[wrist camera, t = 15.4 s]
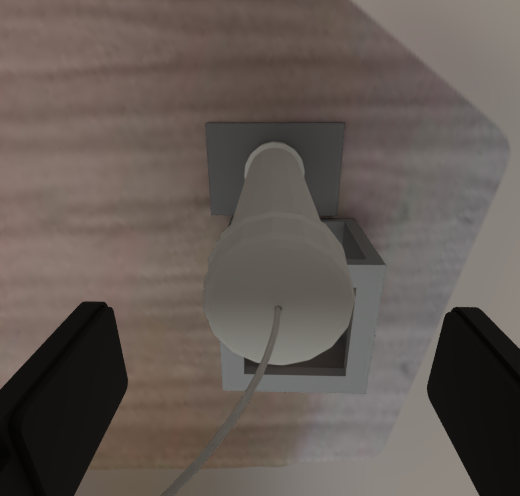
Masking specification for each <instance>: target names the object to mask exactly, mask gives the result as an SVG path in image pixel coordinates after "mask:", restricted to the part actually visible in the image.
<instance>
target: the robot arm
mask: <svg viewBox="0 0 520 496" xmlns="http://www.w3.org/2000/svg"><path fill="white" fill-rule="evenodd" d="M127 385H128V378H127V373H126V368H125V363H124V359H123V354H122V349H121V344H120V339H119V334H118V330H117V325H116V320H115V315H114V311H113V309H112V308H111V307H108V306H107V304H106V303H105V302H82V303H81V304H80V305H79V306H78V307H77V308H76V309H75V310H74V311H73V312H72V313H71V314H70V315H69V316H68V318H67V319H66V320H65V321H64V322H63V323H62V324H61V325H60V326H59V327H58V328H57V329H56V330H55V331H54V333H53V334H52V335H51V336H50V337H49V338H48V339H47V340H46V341H45V342H44V343H43V344H42V345H41V346H40V348H39V349H38V350H37V351H36V352H35V353H34V354H33V355H32V356H31V357H30V358H29V359H28V360H27V361H26V363H25V364H24V365H23V366H22V367H21V368H20V369H19V370H18V371H17V372H16V373H15V374H14V375H13V376H12V378H11V379H10V380H9V381H8V382H7V383H6V384H5V385H4V386H3V387H2V388H1V389H0V496H74V494H75V492H76V491H77V489H78V486H79V485H80V483H81V480H82V478H83V476H84V474H85V473H86V471H87V469H88V467H89V465H90V462H91V460H92V458H93V456H94V454H95V452H96V450H97V448H98V446H99V444H100V442H101V440H102V438H103V436H104V434H105V432H106V430H107V428H108V426H109V424H110V422H111V420H112V418H113V416H114V414H115V412H116V410H117V408H118V406H119V404H120V402H121V400H122V398H123V396H124V394H125V392H126V390H127ZM427 392H428V397H429V399H430V401H431V403H432V405H433V407H434V409H435V411H436V413H437V415H438V417H439V419H440V421H441V423H442V425H443V426H444V428H445V430H446V432H447V434H448V436H449V438H450V440H451V442H452V444H453V445H454V447H455V449H456V451H457V453H458V455H459V457H460V459H461V461H462V463H463V465H464V467H465V469H466V471H467V472H468V475H469V476H470V478H471V480H472V482H473V484H474V486H475V488H476V490H477V492H478V493H479V495H480V496H520V349H519V348H518V347H517V346H516V345H515V344H514V343H513V342H512V341H511V340H510V339H509V338H508V337H507V336H506V335H505V334H504V333H503V332H502V331H501V330H500V329H499V328H498V327H497V326H496V325H495V323H494V322H492V320H491V319H490V318H489V317H488V316H487V315H486V314H485V313H484V312H483V311H482V310H480V309H479V308H476V307H455V308H453V309H452V310H451V312H448V313H446V315H445V317H444V321H443V325H442V329H441V333H440V337H439V341H438V345H437V349H436V353H435V357H434V361H433V365H432V369H431V373H430V376H429V381H428V385H427Z"/></svg>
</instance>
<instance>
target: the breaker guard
mask: <svg viewBox="0 0 520 496" xmlns="http://www.w3.org/2000/svg"><path fill="white" fill-rule="evenodd" d="M232 220H233V218H231V220H230V223H229V225H228V227H229V226H230V225H231V223H232ZM320 221H321V222H323V223H325V224H326V225H327V227H328V228H329V229H330V230H331V232H332V233H333V234H334V236H335V237H336V238H337V240H338V241H339V242H340V243H341V245H342V247H343V249H344V252H345V257H346V262H347V266H348V270H349V272H350V276H351V281H352V285H353V290H354V295H355V302H354V306H353V310H352V314H351V318H350V322H349V325H348V327H347V329H346V330H345V331H344V332H343V334H342V335H341V336H340V337H339V339H338V340H337V341H336V342H335V344H334V345H333V346H332V347H331V348H329V349H327V350H326V351H324V352H322V353H320V354H319V355H317V356H315V357H314V358H312V359H310V360H307V361H302V362H297V363H292V364H287V365H274V364H268V365H267V367H266V369H265V372H264V374H263V376H262V378H261V380H260V382H259V384H258V386H257V388H256V390H255V391H269V392H311V393H352V394H366V389H367V383H368V376H369V370H370V364H371V357H372V351H373V345H374V338H375V332H376V326H377V320H378V313H379V307H380V301H381V294H382V288H383V282H384V275H385V269H386V264H385V263H384V261H383V260H382V258H381V257H380V256H379V254H378V253H377V251H376V250H375V248H374V247H373V245H372V244H371V242H370V241H369V239H368V238H367V236H366V235H365V234H364V232H363V231H362V229H361V228H360V226H359V225H358V223H357V222H356V220H355V219H320ZM220 349H221V365H222V382H223V390H228V391H246V389H247V388H248V386H249V384H250V382H251V380H252V379H253V377H254V375H255V373H256V371H257V369H258V366H259V364H260V363H256V362H254V361H251V360H249V359H247V358H245V357H242V356H240V355H238V354H236V353H234V352H232V351H231V350H230V349H229V348H228V347H227V346H226V345H224V344H223V343H222V342H221V341H220Z"/></svg>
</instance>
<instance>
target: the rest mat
mask: <svg viewBox="0 0 520 496" xmlns="http://www.w3.org/2000/svg"><path fill="white" fill-rule="evenodd" d="M205 125H206V140H207V156H208V172H209V188H210V204H211V215H234V214H235V210H236V207H237V204H238V201H239V198H240V195H241V192H242V189H243V186H244V182H245V177H244V175H245V164H246V162H247V160H248V158H249V157H250V155H251V153H252V152H253V151H254V150H256V149H257V148H258V147H259V146H260V145H262V144H265V143H268V142H271V141H275V142H283V143H285V144H287V145H288V146H290V147H292V148H293V149H295V151H296V152H297V153H298V155H299V156H300V157H301V159H302V162H303V166H304V170H305V174H304V179H305V182H306V184H307V187H308V189H309V192H310V195H311V197H312V200H313V202H314V205H315V208H316V210H317V213H318V215H319V216H337V206H338V195H339V184H340V173H341V162H342V150H343V139H344V128H345V123H205Z"/></svg>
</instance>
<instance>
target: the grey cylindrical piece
mask: <svg viewBox="0 0 520 496" xmlns="http://www.w3.org/2000/svg"><path fill="white" fill-rule="evenodd" d="M304 174H305V170H304V166H303V162H302V159H301V157H300V156H299V155H298V153H297V152H296V151H295V149H293V148H292V147H290V146H288V145H287V144H285V143H283V142H275V141H271V142H268V143H265V144H262V145H260V146H259V147H258V148H257V149H256V150H254V151H253V152H252V153H251V155H250V157H249V158H248V160H247V162H246V164H245V175H244V177H245V182H244V186H243V189H242V192H241V195H240V198H239V201H238V204H237V207H236V210H235V214H234V217H233V220H232V223H231V225H230V226H229V227H228V228H226V229H225V230H224V231H223V232H222V233H221V235H220V237H219V239H218V241H217V243H216V245H215V246H214V248H213V250H212V252H211V254H210V257H209V259H208V272H207V275H206V278H205V281H204V290H203V310H204V312H205V314H206V317H207V319H208V322H209V324H210V326H211V329H212V331H213V333H214V335H215V336H216V337H217V338H218V339H219V340H220V341H221V342H222V343H223V344H224V345H226V346H227V347H228V348H229V349H230V350H231V351H232V352H234V353H236V354H238V355H240V356H242V357H245V358H247V359H249V360H251V361H254V362H256V363H260V364H259V366H258V369H257V371H256V373H255V375H254V377H253V379H252V380H251V382H250V384H249V386H248V388H247V389H246V391H245V393H244V395H243V396H242V398H241V400H240V401H239V403H238V404H237V406H236V407H235V409H234V410H233V412H232V413H231V415H230V416H229V418H228V419H227V420H226V422H225V423H224V424H223V426H222V427H221V429H220V430H219V431H218V433H217V434H216V435H215V437H214V438H213V439H212V440H211V442H210V443H209V444H208V445H207V446H206V447H205V449H204V450H203V451H202V452H201V453H200V455H199V456H198V457H197V458H196V459H195V460H194V462H193V463H192V464H191V465H190V466H189V467H188V468H187V469H186V470H185V471H184V472H183V473H182V474H181V475H180V476H179V477H178V478H177V479H176V481H175V482H174V483H173V484H172V485H171V486H170V487H169V488H168V489H167V490H166V491H165V492H164V493H162V494H161V495H160V496H175V495H176V494H177V493H178V492H179V490H181V488H182V487H183V486H184V485H185V484H186V483H187V482H188V481H189V480H190V479H191V478H192V477H193V476H194V475H195V473H196V472H197V471H198V470H199V469H200V468H201V467H202V466H203V464H204V463H205V462H206V461H207V460H208V458H209V457H210V456H211V455H212V453H213V452H214V451H215V450H216V449H217V447H218V446H219V445H220V444H221V442H222V441H223V439H224V438H225V437H226V435H227V434H228V433H229V431H230V430H231V428H232V427H233V426H234V424H235V423H236V421H237V420H238V418H239V417H240V415H241V414H242V412H243V410H244V409H245V407H246V406H247V404H248V403H249V401H250V399H251V397H252V395H253V393H254V391H255V390H256V388H257V386H258V384H259V382H260V380H261V378H262V376H263V374H264V372H265V369H266V367H267V365H268V364H274V365H287V364H292V363H297V362H302V361H307V360H310V359H312V358H314V357H315V356H317V355H319V354H320V353H322V352H324V351H326V350H327V349H329V348H331V347H332V346H333V345H334V344H335V342H336V341H337V340H338V339H339V337H340V336H341V335H342V334H343V332H344V331H345V330H346V329H347V327H348V325H349V322H350V318H351V314H352V310H353V306H354V302H355V295H354V290H353V285H352V281H351V276H350V272H349V270H348V266H347V262H346V257H345V252H344V249H343V247H342V245H341V243H340V242H339V241H338V240H337V238H336V237H335V236H334V234H333V233H332V232H331V230H330V229H329V228H328V227H327V225H326V224H325V223H323V222H321V221H320V218H319V215H318V213H317V210H316V208H315V205H314V202H313V200H312V197H311V195H310V192H309V189H308V187H307V184H306V182H305V179H304Z"/></svg>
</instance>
